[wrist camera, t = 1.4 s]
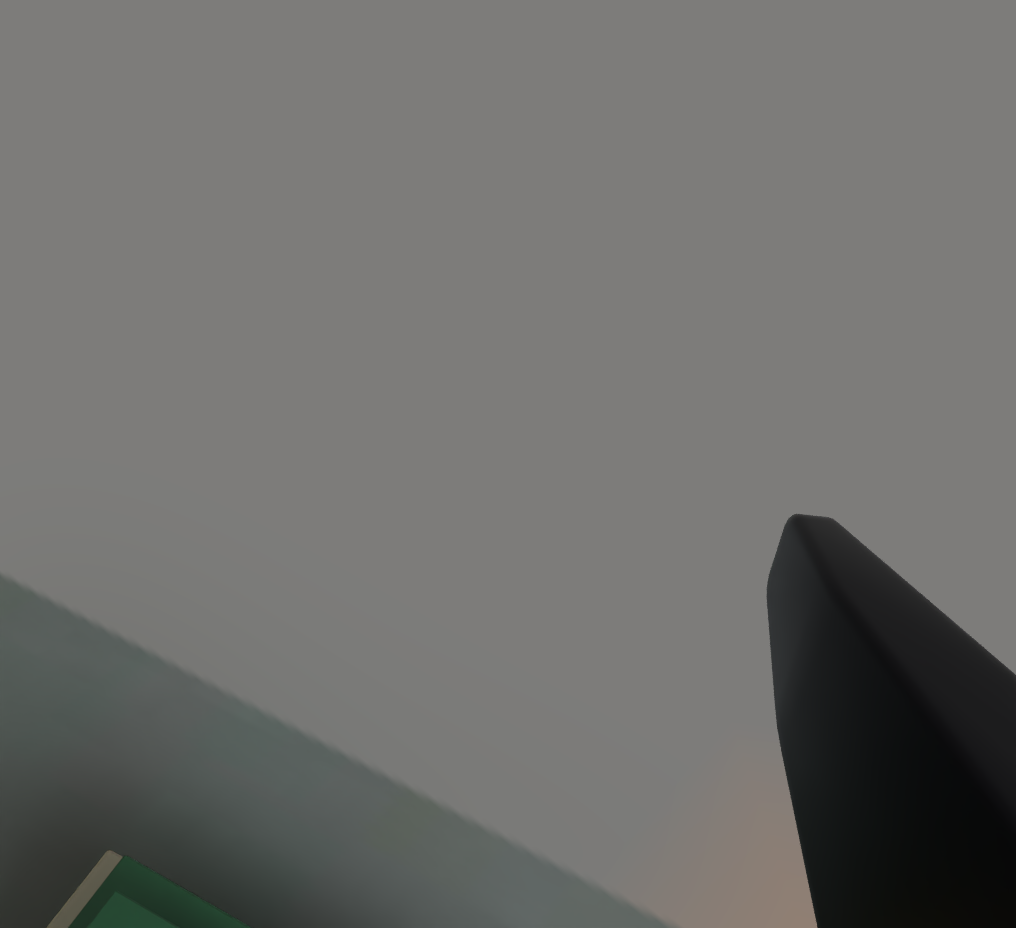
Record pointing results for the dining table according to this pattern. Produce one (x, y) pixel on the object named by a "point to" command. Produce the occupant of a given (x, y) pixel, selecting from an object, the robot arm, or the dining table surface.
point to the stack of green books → (136, 901)
